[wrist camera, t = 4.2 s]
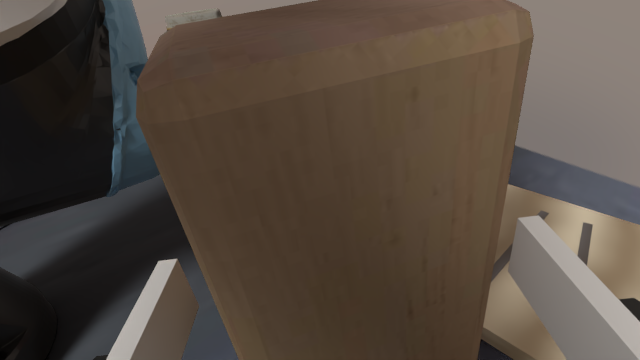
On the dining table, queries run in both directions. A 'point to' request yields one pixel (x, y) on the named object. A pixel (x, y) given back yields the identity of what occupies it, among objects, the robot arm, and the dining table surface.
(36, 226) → the dining table surface
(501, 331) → the board
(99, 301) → the dining table surface
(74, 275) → the dining table surface
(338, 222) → the wooden block
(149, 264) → the dining table surface
